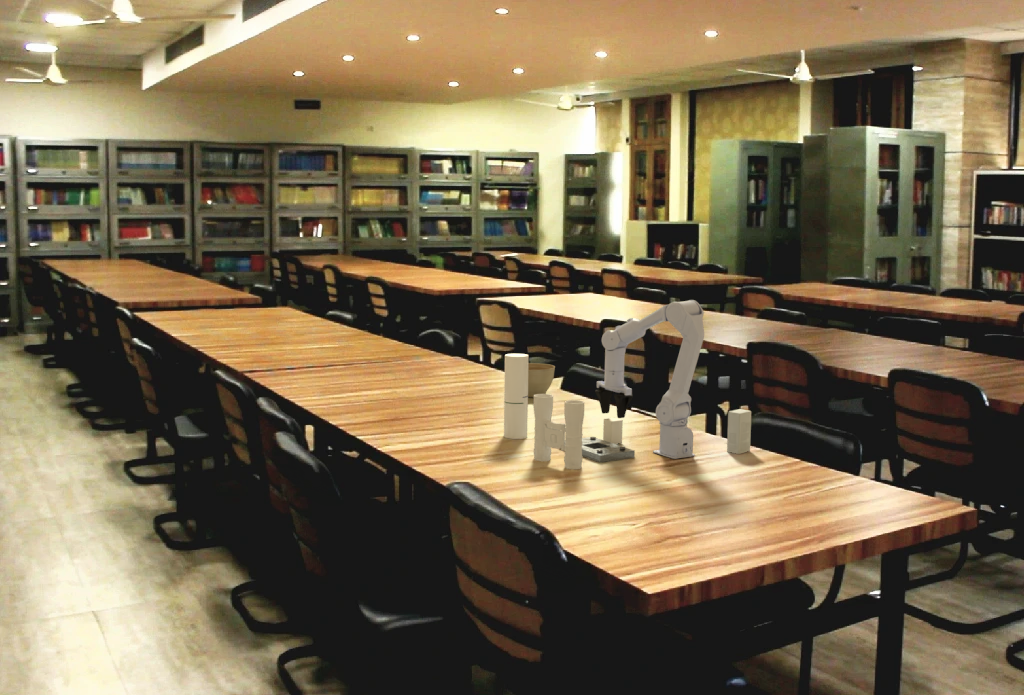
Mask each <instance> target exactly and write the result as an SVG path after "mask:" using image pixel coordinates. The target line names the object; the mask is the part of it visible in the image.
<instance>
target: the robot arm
mask: <svg viewBox="0 0 1024 695" xmlns="http://www.w3.org/2000/svg"><path fill="white" fill-rule="evenodd" d="M704 315H705V312H704V309H703V308H702V306H701V305H700V303H699V302H698V301H697V300H694V299H689V300H685V301H671V302H670V303H669V304H664V305H663V306H661V307H659V308H658V309H656V310H655V311H653V312H651V313H650V314H648V315H646V316H645V317H643V318H641V319H639V318H633V317H631V318H630V317H629V318H628V319H627V320H626V322H625V323H623V324H622V325H617V326H615V329H614V330H612V329H611V330H610V329H607V330H606V331H605V332H604V333H603V334H602V337H601V345H602V346H603V348H604V349H605V350H604V351H605V352H604V381H603V380H598V381H596V388H597V389H595V391H594V393H595V394H596V397H597V399H598V402H599V405H600V409H601V410H600V411H601V414H609V413H610V408H611V402H612V401H611V400H612V396H613V397H614V400H615V404H616V418H617V419H624V418H625V416H626V413H627V410H628V407H629V405H630V403H631V401H632V399H633V397H634V395H633V389H632V388H630V387H628V386H627V383H625V355H626V354H625V353H626V350H627V348H628V345H629V344H631V343H633V342H635V341H637V340H638V339H641V338H643V337H644V336H645V335H646V332H647V330H648V329H651V328H653V327H656V326H657V325H659V324H661V323H663V322H668V323H669V324H671V325H672V326H673V328H675V329H676V330H677V331H678V332H679V334H680V335H681V336H682V342H681V345H680V348H679V353H678V356H677V359H676V363H675V366H674V369H673V373H672V378H671V381H670V384H669V387H668V388H669V389H668V390H667V391H666V392H665V394H663V395H662V398H661V400H660V402H659V404H657V406H656V408H655V417H656V419H657V420H658V422H659V425H660V427H659V449H655V450H652V453H653V454H658V455H660V456H664V457H666V458H669V459H672V460H675V459H683V458H690V457H695V455H696V454H695V453H693V452H694V451H693V450H694V432H693V431H692V428H690V427H688V426H687V419H689V417H690V415H691V413H692V407H691V402H692V397H691V396H690V394H689V391H690V387H691V384H692V380H693V376H694V374H695V370H696V367H697V363H698V360H699V356H700V353H701V350H702V346H703V342H704V340H705V329H704V322H703V320H704V319H703V318H704ZM614 392H615V393H618V394H614Z"/></svg>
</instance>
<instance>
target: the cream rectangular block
mask: <svg viewBox="0 0 1024 695" xmlns="http://www.w3.org/2000/svg"><path fill="white" fill-rule="evenodd" d="M623 423H624V422H623V420H622V419H621V418H618V417H610V418H603V428H602V429H603V431H602V432H603V435H602V437H603V438H602V440H604V441H607V442H610V443H613V444H616V445H619V444H618V443H620V444H623Z"/></svg>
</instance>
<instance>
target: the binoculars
mask: <svg viewBox="0 0 1024 695" xmlns="http://www.w3.org/2000/svg"><path fill="white" fill-rule="evenodd" d="M585 404H586V402H585V401H584V400H580V399H579V400H578V399H567V400H565V401H564V411H563V413H564V415H563V416H564V422H565V423H562V422H561V423H559V422H554V421H552V417H553V409H554V395H553V394H551V393H546V394H536V395H534V397H533V414H534V437H533V438H534V443H533V444H534V445H533V446H534V447H533V459H534V461H537V462H549V461H551V457H552V456H551V455H552V449H557V450H558V449H559V450H561V451H564V457H563V462H564V469H567V470H580V469H582V464H583V456H582V438H583V424H584V418H585Z"/></svg>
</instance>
